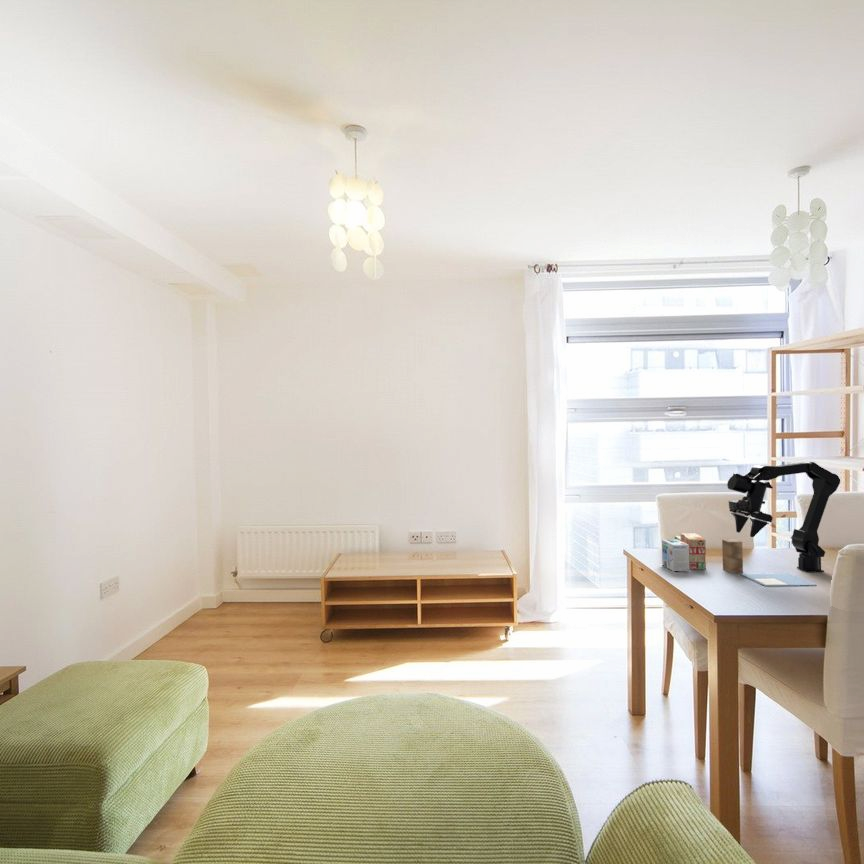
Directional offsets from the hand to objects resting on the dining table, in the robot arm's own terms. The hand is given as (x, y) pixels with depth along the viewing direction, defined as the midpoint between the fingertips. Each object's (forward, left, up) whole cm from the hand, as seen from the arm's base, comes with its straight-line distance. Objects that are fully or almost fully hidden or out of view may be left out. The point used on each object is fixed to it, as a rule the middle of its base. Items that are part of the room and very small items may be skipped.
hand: (744, 534), depth 199 cm
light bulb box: (+25, -5, -15) cm, 29 cm away
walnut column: (+5, 0, -14) cm, 15 cm away
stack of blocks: (+15, -14, -15) cm, 25 cm away
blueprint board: (-4, +12, -14) cm, 19 cm away
